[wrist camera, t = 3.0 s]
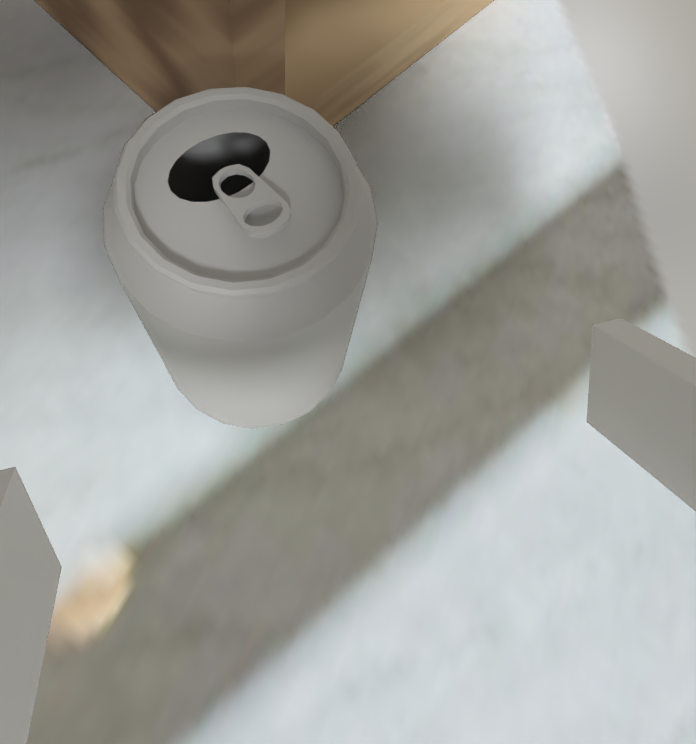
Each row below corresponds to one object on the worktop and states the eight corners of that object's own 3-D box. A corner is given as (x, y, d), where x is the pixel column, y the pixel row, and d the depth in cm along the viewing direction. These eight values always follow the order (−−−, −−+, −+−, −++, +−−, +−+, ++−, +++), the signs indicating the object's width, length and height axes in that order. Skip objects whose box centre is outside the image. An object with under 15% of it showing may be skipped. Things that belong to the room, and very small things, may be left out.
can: (281, 243, 29) (280, 21, 17) (378, 371, 27) (445, 218, 16) (135, 326, 27) (26, 136, 15) (230, 469, 25) (187, 374, 14)
